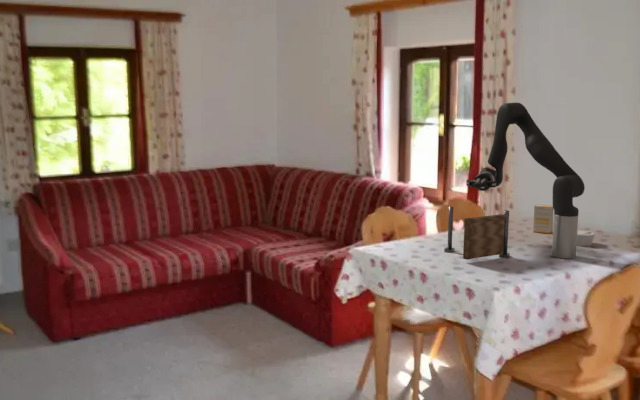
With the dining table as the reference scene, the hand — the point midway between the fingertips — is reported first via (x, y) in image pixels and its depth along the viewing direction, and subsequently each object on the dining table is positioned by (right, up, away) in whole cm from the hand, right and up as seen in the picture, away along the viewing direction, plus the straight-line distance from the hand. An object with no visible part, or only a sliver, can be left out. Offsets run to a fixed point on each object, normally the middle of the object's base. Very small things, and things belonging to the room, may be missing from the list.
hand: (477, 186), depth 273 cm
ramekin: (+51, -25, +21) cm, 61 cm away
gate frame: (0, -28, +2) cm, 28 cm away
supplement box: (+42, -21, +46) cm, 66 cm away
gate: (+1, -28, -8) cm, 29 cm away
